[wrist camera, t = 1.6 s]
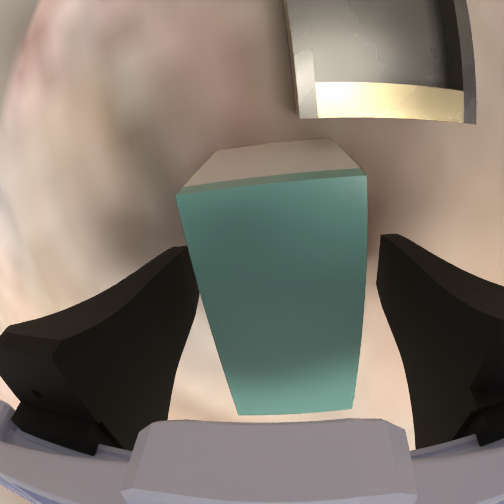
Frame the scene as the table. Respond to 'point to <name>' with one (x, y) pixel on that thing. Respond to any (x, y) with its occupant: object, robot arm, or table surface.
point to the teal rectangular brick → (281, 271)
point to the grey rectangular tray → (382, 59)
